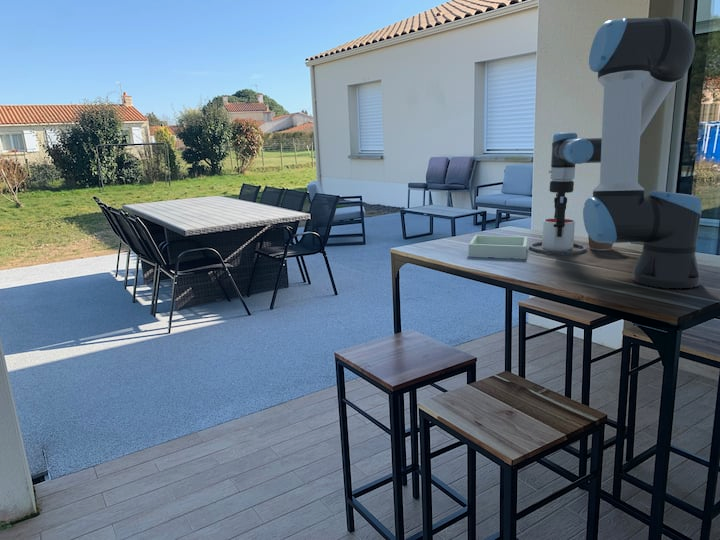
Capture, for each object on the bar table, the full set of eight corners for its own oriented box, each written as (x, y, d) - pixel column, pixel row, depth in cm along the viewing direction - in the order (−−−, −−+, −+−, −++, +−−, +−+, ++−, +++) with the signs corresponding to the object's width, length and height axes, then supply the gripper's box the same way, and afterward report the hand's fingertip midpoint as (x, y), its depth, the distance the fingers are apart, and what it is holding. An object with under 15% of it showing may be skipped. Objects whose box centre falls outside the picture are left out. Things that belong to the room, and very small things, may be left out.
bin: (525, 259, 163) (526, 246, 162) (468, 256, 169) (468, 244, 168) (526, 248, 179) (527, 236, 178) (474, 246, 185) (474, 235, 184)
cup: (575, 252, 172) (578, 222, 169) (544, 252, 173) (546, 222, 171) (568, 246, 181) (571, 218, 179) (539, 246, 183) (541, 218, 180)
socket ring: (588, 255, 166) (588, 252, 166) (528, 253, 172) (528, 250, 171) (583, 245, 183) (584, 242, 182) (529, 243, 189) (529, 240, 188)
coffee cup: (607, 252, 169) (611, 216, 167) (578, 248, 177) (580, 214, 174) (622, 248, 176) (625, 213, 173) (592, 244, 183) (595, 211, 181)
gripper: (549, 177, 184) (545, 236, 189) (550, 183, 161) (546, 249, 166) (571, 177, 182) (567, 236, 187) (576, 183, 159) (571, 250, 164)
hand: (557, 242), depth 177 cm, fingers open, 13 cm apart
